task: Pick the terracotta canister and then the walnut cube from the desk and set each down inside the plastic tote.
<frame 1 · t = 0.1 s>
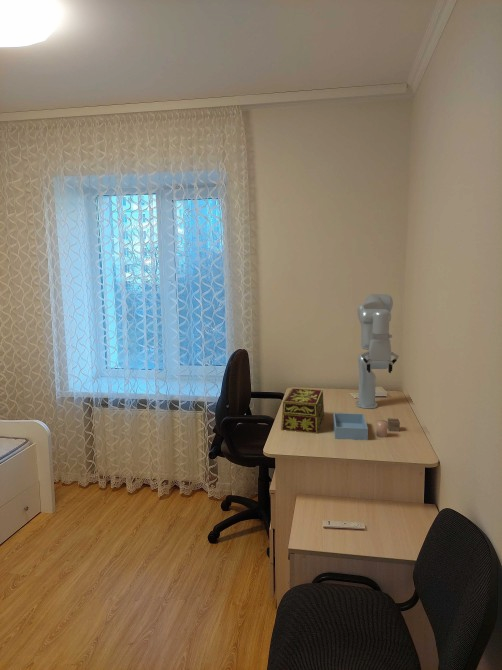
hand: (379, 372, 218), 31 cm above the table, fingers open, 9 cm apart
canister: (381, 435, 221), on the table
decorative box: (303, 423, 240), on the table
walnut block: (393, 429, 229), on the table
tote: (349, 431, 227), on the table
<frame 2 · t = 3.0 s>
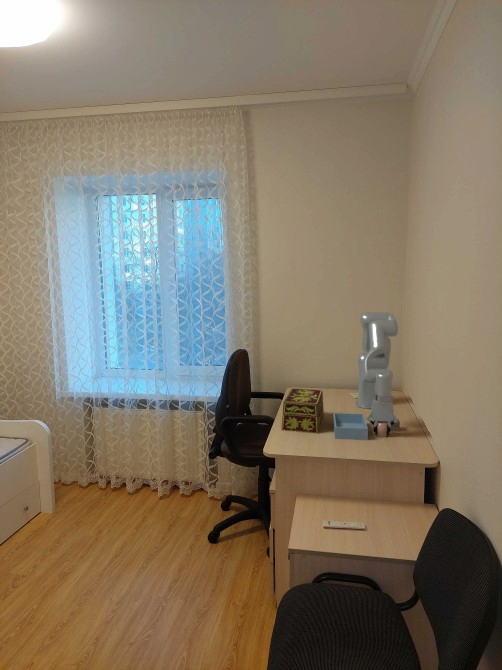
hand: (381, 433, 221), 1 cm above the table, fingers closed on canister, 5 cm apart
canister: (381, 435, 221), on the table, touching gripper
everything else where it was.
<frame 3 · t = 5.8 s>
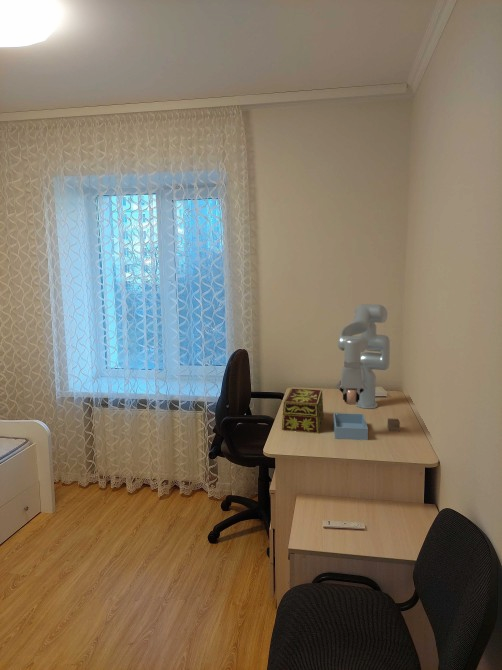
hand: (351, 401, 220), 17 cm above the table, fingers closed on canister, 5 cm apart
canister: (351, 403, 220), point 16 cm above the table, touching gripper
everything else where it was.
when the fingers open (3 cm above the table, at t = 8.6 s): canister drops 2 cm, resting on tote.
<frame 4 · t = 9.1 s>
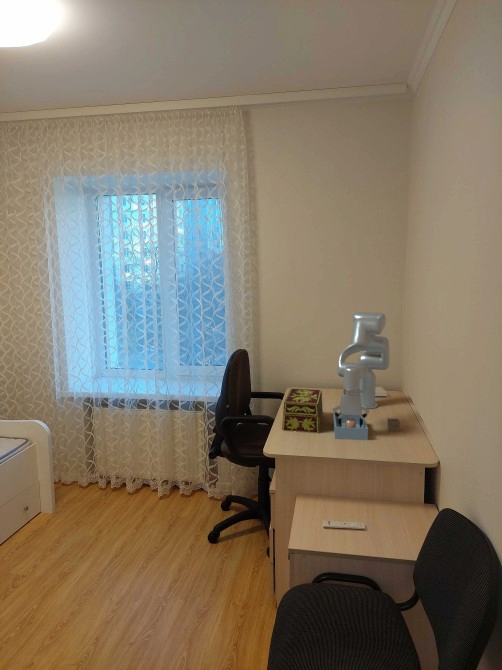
hand: (350, 426, 222), 4 cm above the table, fingers open, 9 cm apart
canister: (350, 433, 223), point 1 cm above the table, touching tote
everything else where it was.
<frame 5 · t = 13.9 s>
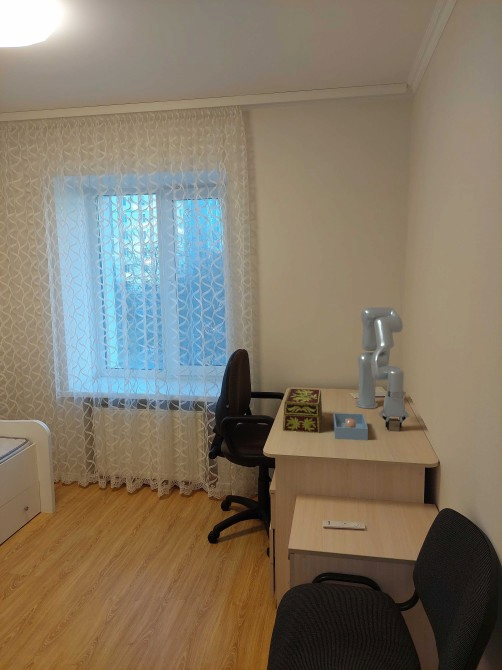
hand: (393, 428, 229), 0 cm above the table, fingers closed on walnut block, 5 cm apart
walnut block: (393, 429, 229), on the table, touching gripper
everything else where it was.
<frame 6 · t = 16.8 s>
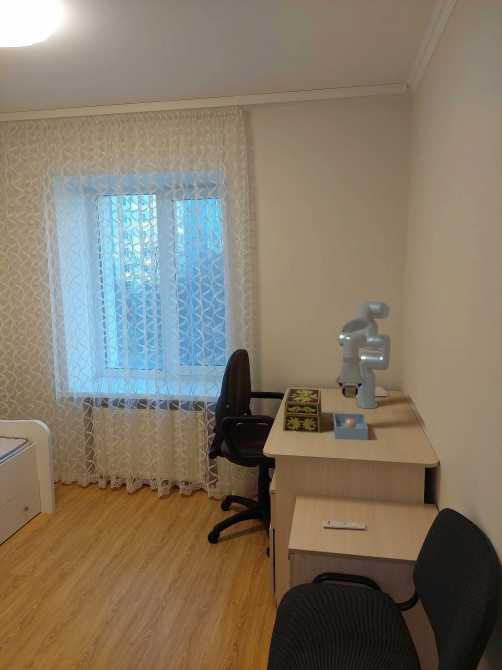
hand: (349, 395, 229), 17 cm above the table, fingers closed on walnut block, 5 cm apart
walnut block: (349, 396, 229), point 17 cm above the table, touching gripper
everything else where it was.
when the fingers open (3 cm above the table, at t = 19.8 s): walnut block drops 2 cm, resting on tote.
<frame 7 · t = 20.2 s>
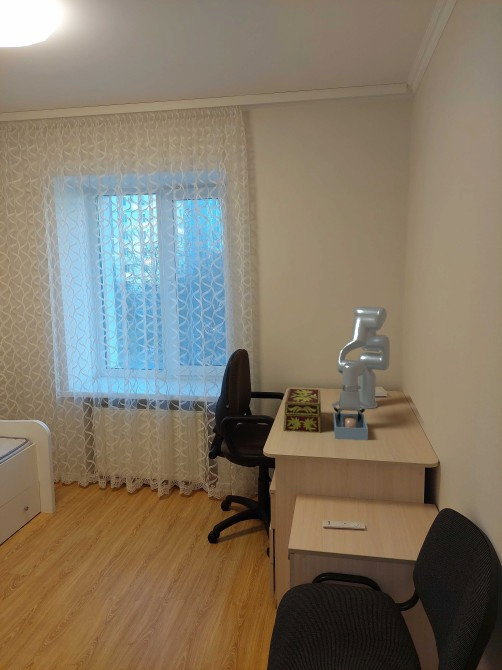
hand: (349, 420, 231), 4 cm above the table, fingers open, 9 cm apart
walnut block: (348, 426, 232), point 1 cm above the table, touching tote
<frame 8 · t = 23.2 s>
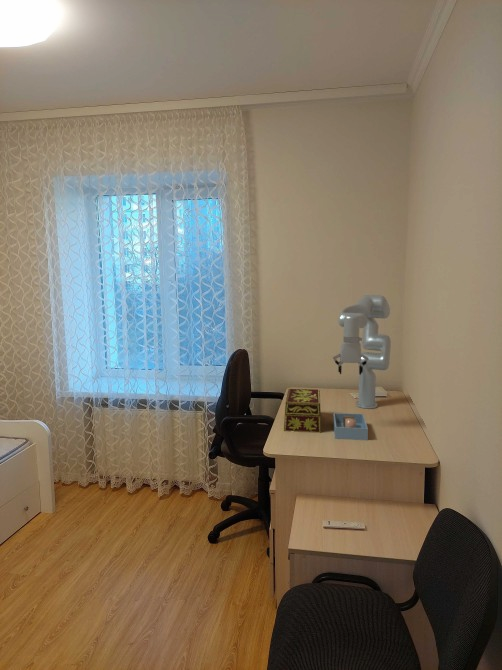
hand: (350, 373, 227), 28 cm above the table, fingers open, 9 cm apart
at the end: canister inside the target area on the tote (4.5 cm from its centre), point 0.6 cm above the tote's base; walnut block inside the target area on the tote (4.5 cm from its centre), point 0.6 cm above the tote's base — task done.
